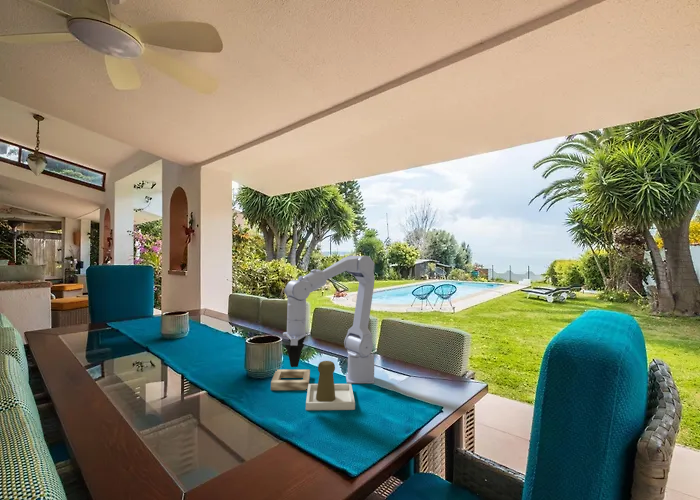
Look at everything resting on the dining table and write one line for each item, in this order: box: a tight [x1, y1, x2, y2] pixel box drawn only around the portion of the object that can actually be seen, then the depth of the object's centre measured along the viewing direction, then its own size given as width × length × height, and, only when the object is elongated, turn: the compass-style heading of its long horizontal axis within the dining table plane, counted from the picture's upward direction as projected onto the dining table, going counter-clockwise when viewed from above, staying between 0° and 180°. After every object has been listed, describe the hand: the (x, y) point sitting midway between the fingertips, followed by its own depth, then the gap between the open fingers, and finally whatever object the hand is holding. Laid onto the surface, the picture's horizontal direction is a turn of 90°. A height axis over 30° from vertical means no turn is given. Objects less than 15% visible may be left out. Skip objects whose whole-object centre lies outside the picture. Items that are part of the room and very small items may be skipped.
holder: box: [270, 369, 311, 391], centre depth 115 cm, size 12×12×2 cm
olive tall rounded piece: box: [316, 360, 336, 402], centre depth 103 cm, size 6×6×11 cm
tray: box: [305, 383, 356, 411], centre depth 103 cm, size 14×14×2 cm
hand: (295, 362), depth 105 cm, fingers open, 7 cm apart
